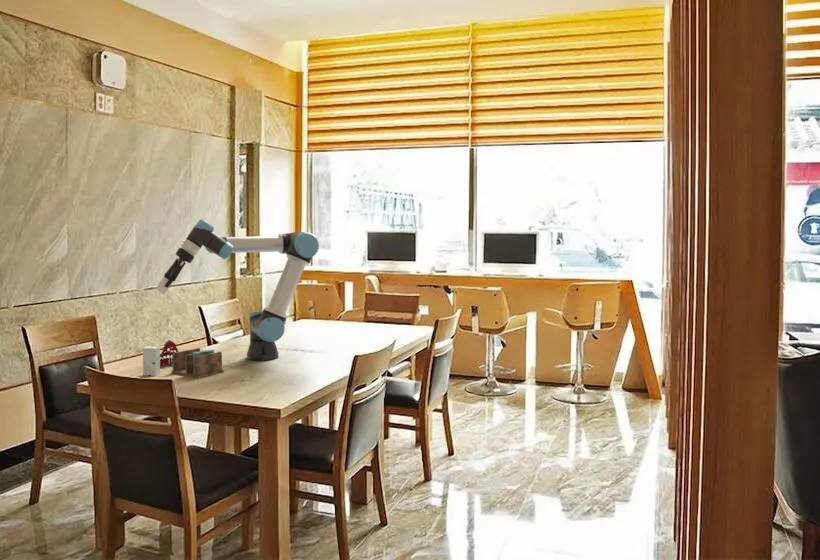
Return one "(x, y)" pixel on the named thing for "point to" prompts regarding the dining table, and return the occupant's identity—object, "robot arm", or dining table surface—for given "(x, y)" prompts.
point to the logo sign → (167, 352)
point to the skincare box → (151, 361)
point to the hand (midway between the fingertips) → (159, 292)
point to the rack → (197, 363)
